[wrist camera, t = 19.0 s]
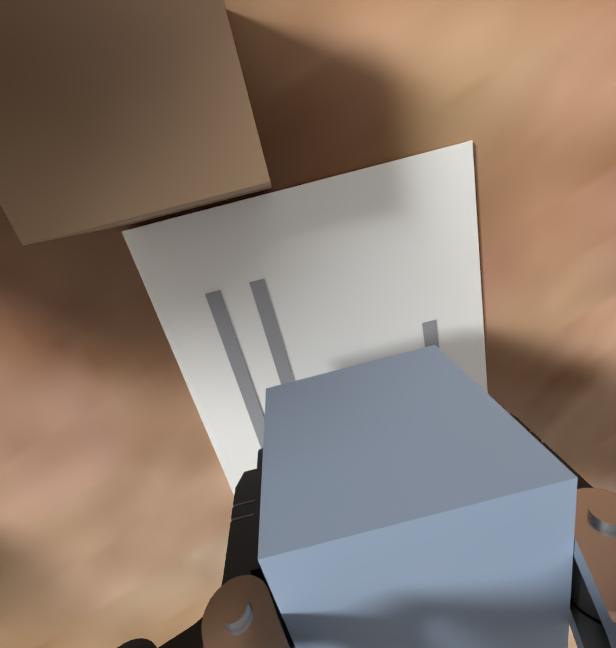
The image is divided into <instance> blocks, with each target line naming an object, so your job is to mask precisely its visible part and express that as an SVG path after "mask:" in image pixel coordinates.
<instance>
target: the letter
mask: <svg viewBox="0 0 616 648" xmlns="http://www.w3.org/2000/svg"><path fill="white" fill-rule="evenodd" d="M122 234H123V236H124V238H125V241H126V243H127V245H128V248H129V250H130V253H131V255H132V257H133V260H134V262H135V264H136V267H137V269H138V271H139V274H140V276H141V278H142V281H143V283H144V285H145V288H146V290H147V292H148V295H149V297H150V299H151V302H152V304H153V306H154V309H155V311H156V313H157V316H158V318H159V320H160V323H161V325H162V328H163V330H164V332H165V335H166V337H167V339H168V342H169V344H170V346H171V349H172V351H173V353H174V356H175V358H176V360H177V363H178V365H179V367H180V370H181V372H182V374H183V377H184V379H185V381H186V384H187V386H188V388H189V391H190V393H191V395H192V398H193V400H194V403H195V405H196V407H197V410H198V412H199V414H200V417H201V419H202V421H203V424H204V426H205V428H206V431H207V433H208V435H209V438H210V440H211V442H212V445H213V447H214V449H215V452H216V454H217V456H218V459H219V461H220V463H221V466H222V468H223V470H224V473H225V475H226V478H227V480H228V482H229V485H230V487H231V489H232V492H233V494H235V487H236V486H237V484H238V482H239V480H240V479H241V477H242V475H243V473H244V472H245V471H249V470H253V469H257V458H258V450H259V449H261V448H263V440H264V419H265V398H266V388H269V387H273V386H277V385H281V384H285V383H289V382H293V381H297V380H300V379H304V378H308V377H312V376H316V375H320V374H324V373H328V372H332V371H335V370H339V369H343V368H347V367H351V366H355V365H359V364H363V363H367V362H370V361H374V360H378V359H382V358H386V357H390V356H394V355H398V354H402V353H405V352H409V351H413V350H417V349H421V348H425V347H429V346H433V345H436V346H437V347H438V348H439V349H440V350H441V351H442V352H443V353H445V354H446V355H447V356H448V357H449V358H450V359H451V360H452V361H453V362H454V363H455V364H456V365H457V366H459V367H460V368H461V369H462V370H463V371H464V372H465V373H466V374H467V375H468V376H469V377H470V378H471V379H472V380H474V381H475V382H476V383H477V384H478V385H479V386H480V387H481V388H482V389H483V390H484V391H485V392H486V393H487V394H488V391H487V375H486V358H485V342H484V325H483V309H482V292H481V276H480V259H479V243H478V226H477V210H476V193H475V177H474V160H473V143H472V141H468V142H464V143H460V144H457V145H453V146H449V147H445V148H441V149H437V150H433V151H430V152H426V153H422V154H418V155H414V156H410V157H406V158H403V159H399V160H395V161H391V162H387V163H383V164H380V165H376V166H372V167H368V168H364V169H360V170H356V171H353V172H349V173H345V174H341V175H337V176H333V177H329V178H326V179H322V180H318V181H314V182H310V183H306V184H302V185H299V186H295V187H291V188H287V189H283V190H279V191H276V192H272V193H268V194H264V195H260V196H256V197H252V198H249V199H245V200H241V201H237V202H233V203H229V204H225V205H222V206H218V207H214V208H210V209H206V210H202V211H199V212H195V213H191V214H187V215H183V216H179V217H175V218H172V219H168V220H164V221H160V222H156V223H152V224H148V225H145V226H141V227H137V228H133V229H129V230H125V231H122Z"/></svg>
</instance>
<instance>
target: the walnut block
mask: <svg viewBox="0 0 616 648" xmlns="http://www.w3.org/2000/svg"><path fill="white" fill-rule="evenodd" d="M270 188H272V186H271V182H270V178H269V174H268V170H267V166H266V162H265V159H264V155H263V151H262V147H261V143H260V139H259V135H258V131H257V128H256V124H255V120H254V116H253V112H252V108H251V104H250V101H249V97H248V93H247V89H246V85H245V81H244V77H243V74H242V70H241V66H240V62H239V58H238V54H237V50H236V47H235V43H234V39H233V35H232V31H231V27H230V23H229V20H228V16H227V12H226V8H225V4H224V0H0V205H1V207H2V209H3V211H4V213H5V215H6V216H7V218H8V220H9V222H10V224H11V226H12V228H13V230H14V231H15V233H16V235H17V237H18V239H19V241H20V243H21V245H22V246H23V245H28V244H33V243H38V242H43V241H49V240H54V239H59V238H64V237H69V236H74V235H79V234H84V233H90V232H95V231H100V230H105V229H110V228H115V227H120V226H126V225H131V224H135V223H138V222H142V221H146V220H150V219H154V218H158V217H162V216H166V215H169V214H173V213H177V212H181V211H185V210H189V209H193V208H197V207H200V206H204V205H208V204H212V203H216V202H220V201H224V200H228V199H231V198H235V197H239V196H243V195H247V194H251V193H255V192H259V191H262V190H266V189H270Z"/></svg>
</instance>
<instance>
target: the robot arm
mask: <svg viewBox="0 0 616 648" xmlns="http://www.w3.org/2000/svg"><path fill="white" fill-rule="evenodd" d="M510 415H511V416H512V417H513V418H514V419H515V420H516V421H517V422H519V423H520V424H521V425H522V426H523V427H524V428H525V429H526V430H527V431H528V432H529V433H530V434H531V435H532V436H534V437H535V438H536V439H537V440H538V441H539V442H540V443H541V444H542V445H543V446H544V447H545V448H546V449H547V450H549V451H550V452H551V453H552V454H553V455H554V456H555V457H556V458H557V459H558V460H559V461H560V462H561V463H563V464H564V465H565V466H566V467H567V468H568V469H569V470H570V471H571V472H572V473H573V474H574V475H575V476H576V477H578V481H577V497H576V514H575V531H574V548H573V565H572V581H571V598H570V615H569V624H570V627H571V630H572V633H573V636H574V639H575V641H576V644H577V647H578V648H616V494H615V493H613V492H610V491H606V490H602V489H597V488H593V487H592V486H591V485H590V484H588V483H587V482H586V481H585V480H584V479H583V478H582V477H581V476H580V475H579V474H578V473H576V472H575V471H574V470H573V469H572V468H571V467H570V466H569V465H568V464H567V463H566V462H565V461H563V460H562V459H561V458H560V457H559V456H558V455H557V454H556V453H555V452H554V451H553V450H551V449H550V448H549V447H548V446H547V445H546V444H545V443H542V442H541V439H540V438H538V437H537V436H536V435H535V434H534V433H533V432H530V430H529V428H528V427H526V426H525V425H524V424H523V423H522V422H521V421H520V420H519V419H518V418H517V417H516V416H514V415H512V414H510ZM262 461H263V448H261V449H259V450H258V458H257V469H253V470H249V471H245V472H244V473H243V475H242V477H241V479H240V480H239V482H238V484H237V486H236V487H235V494H234V502H233V506H234V508H233V509H232V516H231V520H232V522H231V524H230V531H229V538H228V546H227V553H226V560H225V568H224V575H223V581H222V585H221V587H220V588H219V589H218V590H217V591H216V592H215V594H214V595H213V596H212V598H211V599H210V601H209V603H208V605H207V607H206V609H205V612H204V615H203V617H202V618H201V619H200V620H199V621H198V622H197V623H195V624H194V625H193V626H191V627H190V628H188V629H187V630H185V631H184V632H182V633H180V634H179V635H177V636H176V637H174V638H173V639H171V640H170V641H168V642H166V643H165V644H163V645H162V646H160V647H159V648H295V645H294V643H293V641H292V638H291V636H290V634H289V631H288V629H287V627H286V624H285V622H284V620H283V617H282V615H281V613H280V610H279V608H278V606H277V603H276V601H275V599H274V596H273V594H272V592H271V589H270V587H269V585H268V583H267V580H266V578H265V576H264V573H263V571H262V569H261V566H260V564H259V562H258V544H259V523H260V502H261V481H262ZM118 648H157V647H156V646H155V644H154V643H153V642H152V641H150V640H148V639H143V638H140V639H134V640H130V641H128V642H126V643H124V644H123V645H121V646H119V647H118Z"/></svg>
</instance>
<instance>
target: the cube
mask: <svg viewBox="0 0 616 648" xmlns="http://www.w3.org/2000/svg"><path fill="white" fill-rule="evenodd" d="M577 481H578V477H576V476H575V475H574V474H573V473H572V472H571V471H570V470H569V469H568V468H567V467H566V466H565V465H564V464H563V463H561V462H560V461H559V460H558V459H557V458H556V457H555V456H554V455H553V454H552V453H551V452H550V451H549V450H547V449H546V448H545V447H544V446H543V445H542V444H541V443H540V442H539V441H538V440H537V439H536V438H535V437H534V436H532V435H531V434H530V433H529V432H528V431H527V430H526V429H525V428H524V427H523V426H522V425H521V424H520V423H519V422H517V421H516V420H515V419H514V418H513V417H512V416H511V415H510V414H509V413H508V412H507V411H506V410H505V409H504V408H502V407H501V406H500V405H499V404H498V403H497V402H496V401H495V400H494V399H493V398H492V397H491V396H490V395H489V394H487V393H486V392H485V391H484V390H483V389H482V388H481V387H480V386H479V385H478V384H477V383H476V382H475V381H474V380H472V379H471V378H470V377H469V376H468V375H467V374H466V373H465V372H464V371H463V370H462V369H461V368H460V367H459V366H457V365H456V364H455V363H454V362H453V361H452V360H451V359H450V358H449V357H448V356H447V355H446V354H445V353H443V352H442V351H441V350H440V349H439V348H438V347H437V346H436V345H433V346H429V347H425V348H421V349H417V350H413V351H409V352H405V353H402V354H398V355H394V356H390V357H386V358H382V359H378V360H374V361H370V362H367V363H363V364H359V365H355V366H351V367H347V368H343V369H339V370H335V371H332V372H328V373H324V374H320V375H316V376H312V377H308V378H304V379H300V380H297V381H293V382H289V383H285V384H281V385H277V386H273V387H269V388H266V398H265V419H264V440H263V461H262V481H261V502H260V523H259V544H258V562H259V564H260V566H261V569H262V571H263V573H264V576H265V578H266V580H267V583H268V585H269V587H270V589H271V592H272V594H273V596H274V599H275V601H276V603H277V606H278V608H279V610H280V613H281V615H282V617H283V620H284V622H285V624H286V627H287V629H288V631H289V634H290V636H291V638H292V641H293V643H294V645H295V648H568V632H569V615H570V598H571V581H572V565H573V548H574V531H575V514H576V497H577Z"/></svg>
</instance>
